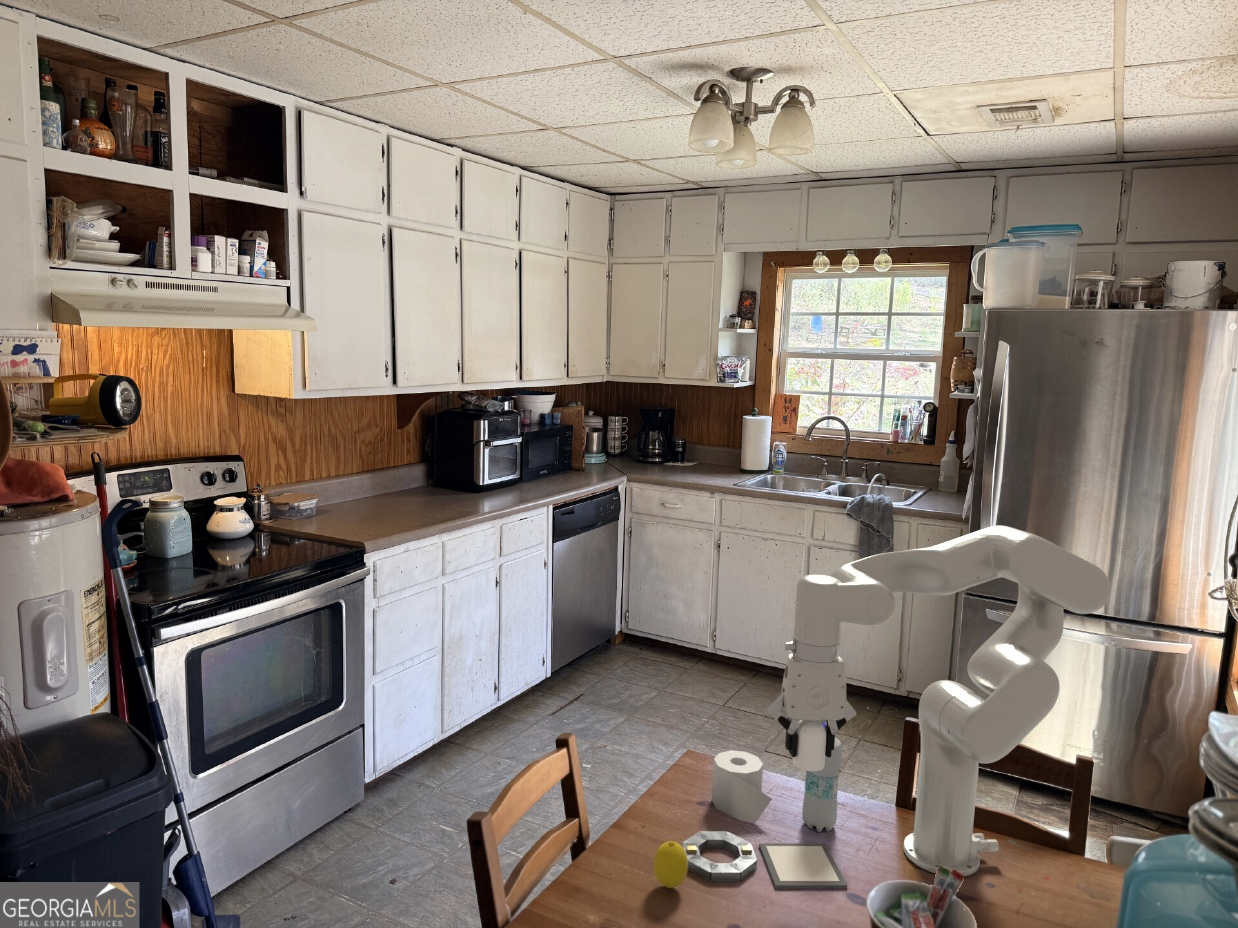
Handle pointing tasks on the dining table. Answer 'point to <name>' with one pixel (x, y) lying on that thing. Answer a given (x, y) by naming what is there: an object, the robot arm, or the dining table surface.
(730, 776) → the toilet tissue
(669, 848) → the lemon
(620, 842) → the dining table surface
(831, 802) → the bottle
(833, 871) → the mat
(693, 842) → the socket ring
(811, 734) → the capsule
